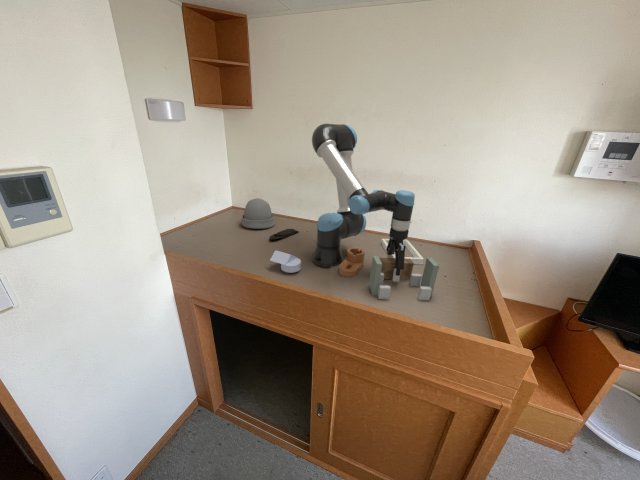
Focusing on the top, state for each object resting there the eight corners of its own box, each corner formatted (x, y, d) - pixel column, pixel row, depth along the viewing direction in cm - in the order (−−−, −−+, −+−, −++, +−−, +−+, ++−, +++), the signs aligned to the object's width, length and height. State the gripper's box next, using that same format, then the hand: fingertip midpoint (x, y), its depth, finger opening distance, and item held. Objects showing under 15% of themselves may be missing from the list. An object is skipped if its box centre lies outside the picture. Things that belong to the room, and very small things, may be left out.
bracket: (349, 258, 136) (350, 246, 134) (365, 262, 133) (366, 250, 130) (335, 274, 121) (337, 260, 118) (353, 279, 118) (354, 265, 115)
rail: (374, 278, 119) (377, 262, 116) (372, 273, 123) (375, 257, 120) (410, 279, 120) (413, 263, 117) (407, 274, 124) (410, 258, 121)
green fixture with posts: (373, 299, 104) (378, 267, 99) (367, 282, 115) (371, 253, 110) (434, 300, 105) (442, 268, 100) (422, 283, 117) (429, 254, 111)
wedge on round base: (269, 266, 124) (293, 274, 118) (269, 253, 121) (294, 260, 116) (281, 259, 131) (304, 266, 126) (281, 246, 129) (304, 253, 123)
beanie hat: (276, 235, 180) (282, 206, 183) (265, 229, 159) (271, 196, 162) (248, 231, 184) (253, 203, 187) (233, 225, 163) (239, 193, 166)
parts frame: (393, 263, 133) (394, 258, 132) (381, 243, 156) (381, 238, 155) (422, 264, 134) (424, 259, 133) (406, 244, 157) (407, 239, 156)
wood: (290, 228, 169) (291, 224, 168) (299, 232, 166) (300, 228, 164) (263, 238, 153) (263, 233, 152) (272, 243, 149) (272, 238, 148)
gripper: (418, 239, 102) (408, 288, 110) (399, 219, 124) (392, 262, 132) (399, 238, 102) (390, 288, 110) (383, 219, 123) (377, 261, 132)
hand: (391, 274), depth 121 cm, fingers open, 11 cm apart
